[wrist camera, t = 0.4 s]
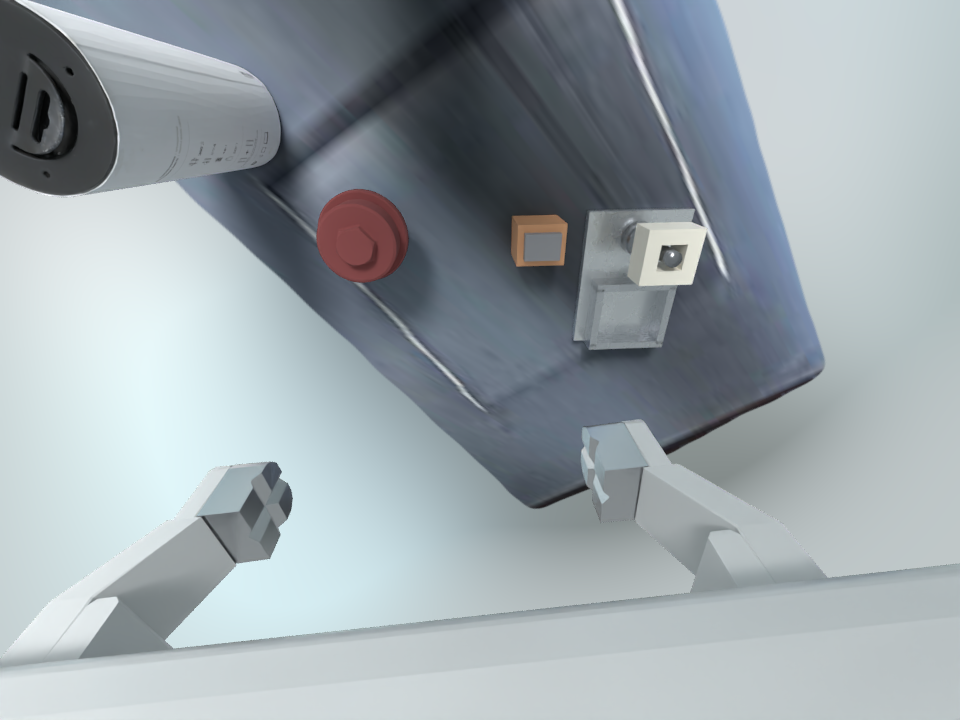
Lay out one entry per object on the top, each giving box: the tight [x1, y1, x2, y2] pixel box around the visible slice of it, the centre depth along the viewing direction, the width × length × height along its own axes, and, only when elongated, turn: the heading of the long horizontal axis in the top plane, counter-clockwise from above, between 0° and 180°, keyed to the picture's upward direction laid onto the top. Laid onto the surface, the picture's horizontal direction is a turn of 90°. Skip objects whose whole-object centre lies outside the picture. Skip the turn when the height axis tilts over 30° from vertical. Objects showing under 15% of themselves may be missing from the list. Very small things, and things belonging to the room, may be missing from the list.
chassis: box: [572, 208, 695, 350], centre depth 51 cm, size 19×14×12 cm
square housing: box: [627, 222, 707, 286], centre depth 45 cm, size 6×6×4 cm
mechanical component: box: [316, 189, 409, 283], centre depth 46 cm, size 12×10×10 cm
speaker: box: [0, 0, 281, 197], centre depth 33 cm, size 11×10×26 cm
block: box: [511, 215, 568, 266], centre depth 50 cm, size 5×6×7 cm
